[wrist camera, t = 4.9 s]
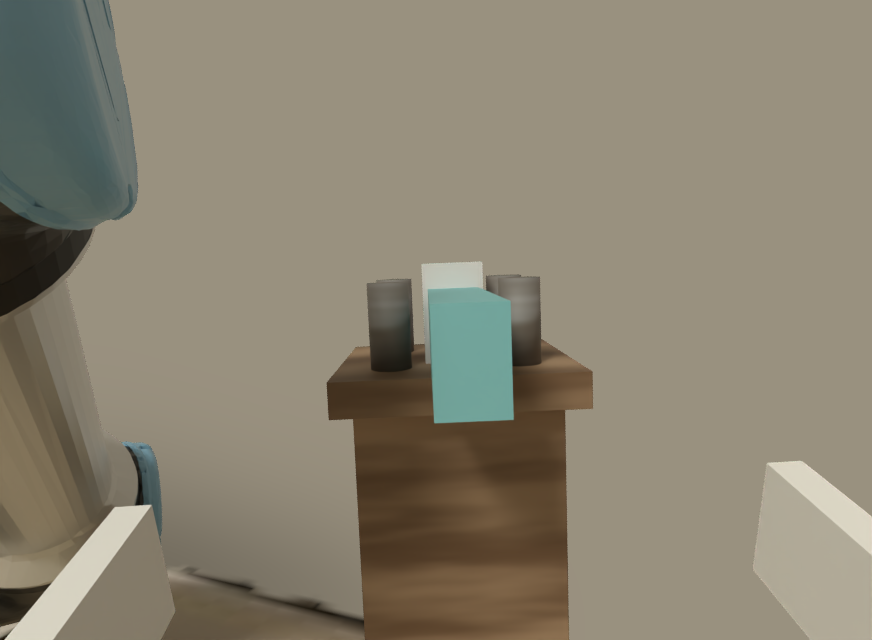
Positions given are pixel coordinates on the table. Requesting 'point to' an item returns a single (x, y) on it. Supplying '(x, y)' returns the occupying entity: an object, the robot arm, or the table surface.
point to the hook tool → (467, 344)
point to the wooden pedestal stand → (460, 482)
